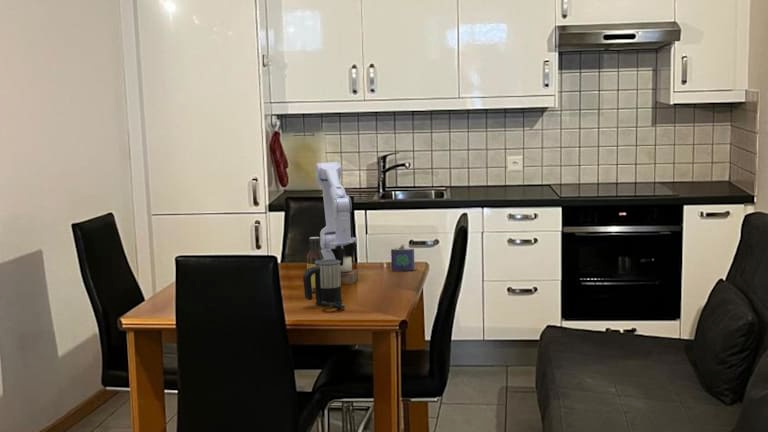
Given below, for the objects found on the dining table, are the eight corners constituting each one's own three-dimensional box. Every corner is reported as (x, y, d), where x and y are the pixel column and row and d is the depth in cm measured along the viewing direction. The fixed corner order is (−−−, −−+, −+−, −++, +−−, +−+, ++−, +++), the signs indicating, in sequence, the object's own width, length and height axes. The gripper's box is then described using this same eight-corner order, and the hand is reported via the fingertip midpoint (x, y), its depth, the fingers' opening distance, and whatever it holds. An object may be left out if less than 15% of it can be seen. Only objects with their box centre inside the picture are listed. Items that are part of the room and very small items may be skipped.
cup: (336, 271, 349) (335, 257, 348) (344, 268, 353) (343, 255, 352) (346, 272, 346) (346, 258, 345) (354, 269, 350) (354, 256, 349)
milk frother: (328, 299, 323) (327, 257, 320) (362, 304, 313) (360, 262, 310) (300, 307, 312) (298, 264, 310) (334, 313, 302) (332, 269, 300)
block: (332, 284, 348) (331, 273, 347) (338, 279, 355) (337, 269, 355) (352, 284, 346) (351, 274, 345) (357, 279, 353) (357, 269, 353)
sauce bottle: (322, 293, 332) (320, 239, 329) (306, 292, 333) (303, 239, 330) (327, 289, 338) (325, 236, 335) (311, 288, 339) (308, 236, 336)
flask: (414, 269, 367) (413, 243, 365) (414, 271, 364) (413, 244, 363) (391, 270, 368) (390, 244, 366) (391, 271, 365) (390, 245, 363)
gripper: (339, 232, 339) (340, 268, 341) (362, 226, 351) (364, 261, 353) (324, 231, 343) (326, 266, 345) (348, 225, 355) (349, 260, 357)
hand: (344, 264), depth 349 cm, fingers closed on cup, 5 cm apart
